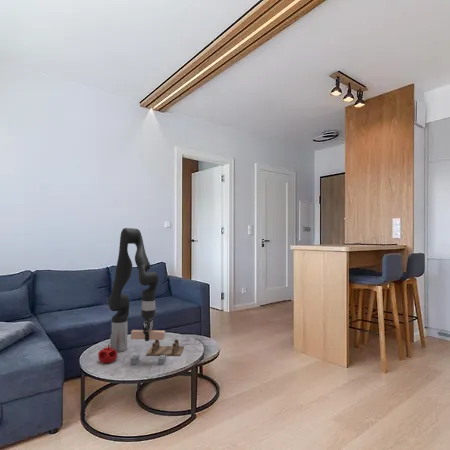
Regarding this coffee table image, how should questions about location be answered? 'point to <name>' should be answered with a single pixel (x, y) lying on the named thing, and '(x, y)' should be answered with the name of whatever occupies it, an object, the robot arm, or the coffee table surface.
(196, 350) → the coffee table surface
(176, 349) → the rack
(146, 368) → the coffee table surface
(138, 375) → the coffee table surface
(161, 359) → the blocks
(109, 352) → the pomegranate
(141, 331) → the light wooden bar
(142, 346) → the coffee table surface
